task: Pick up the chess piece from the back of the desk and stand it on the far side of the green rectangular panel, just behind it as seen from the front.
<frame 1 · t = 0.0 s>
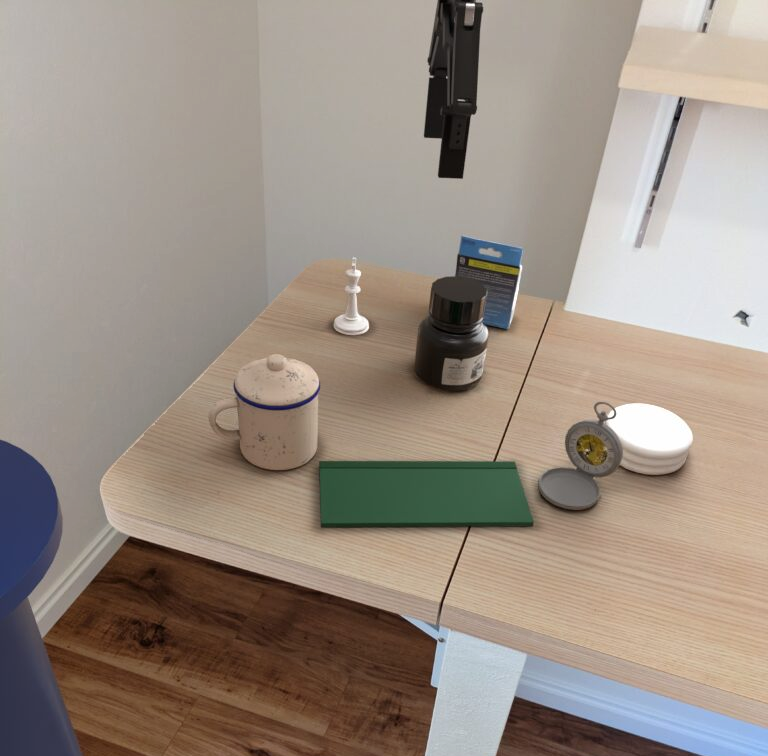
hand: (442, 156, 93), 25 cm above the table, tool pointing down, fingers open, 13 cm apart
pocket watch: (574, 490, 88), on the table
teacup with lid: (266, 451, 90), on the table
ink bottle: (447, 375, 104), on the table
green rectangular panel: (422, 495, 85), on the table
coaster: (641, 451, 94), on the table
chess piece: (351, 327, 111), on the table
label tape box: (480, 320, 116), on the table
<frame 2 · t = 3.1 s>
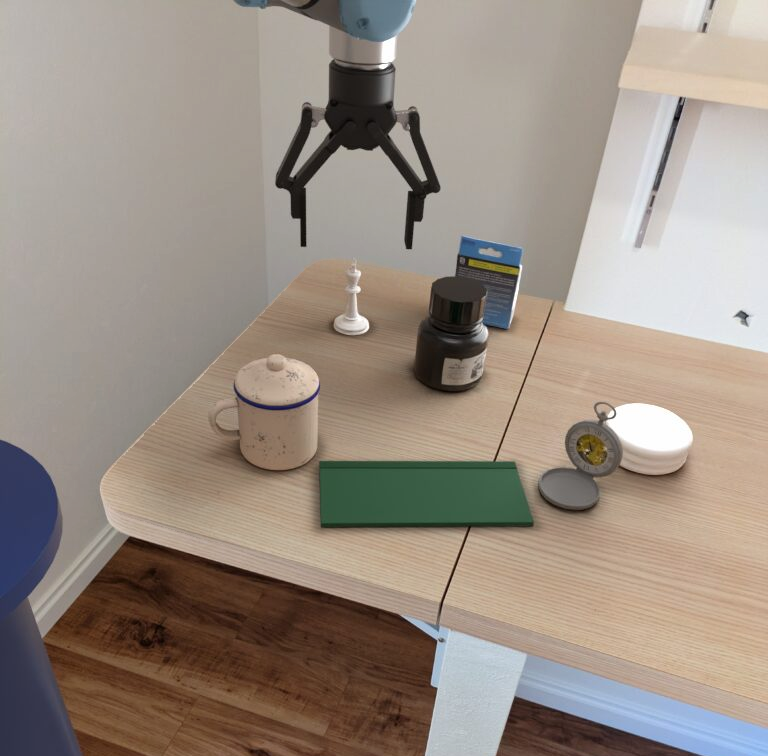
hand: (356, 244, 104), 12 cm above the table, tool pointing down, fingers open, 13 cm apart
nothing on the table moved.
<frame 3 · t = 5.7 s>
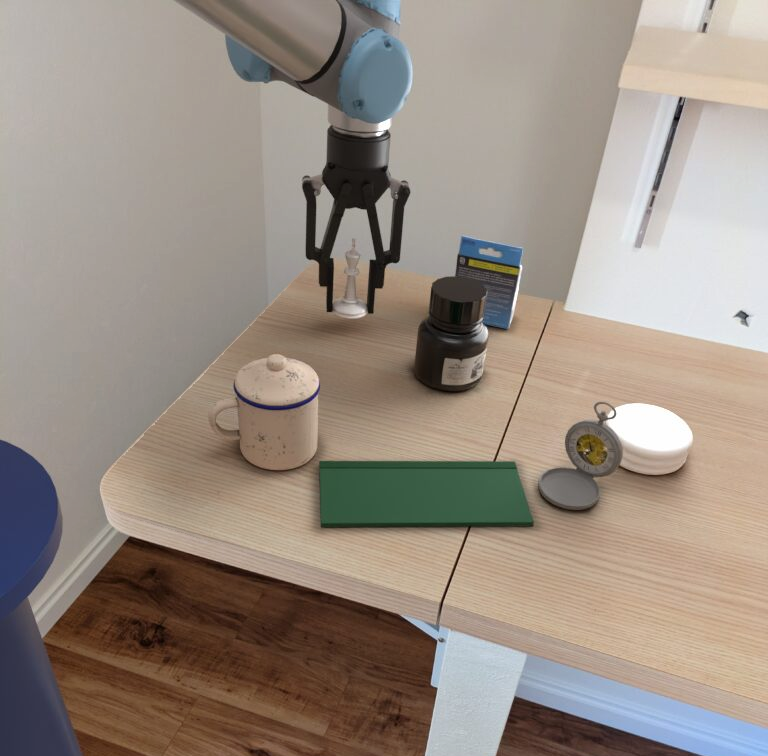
hand: (349, 308, 109), 3 cm above the table, tool pointing down, fingers closed on chess piece, 5 cm apart
chess piece: (349, 311, 109), point 2 cm above the table, touching gripper
everything else where it was.
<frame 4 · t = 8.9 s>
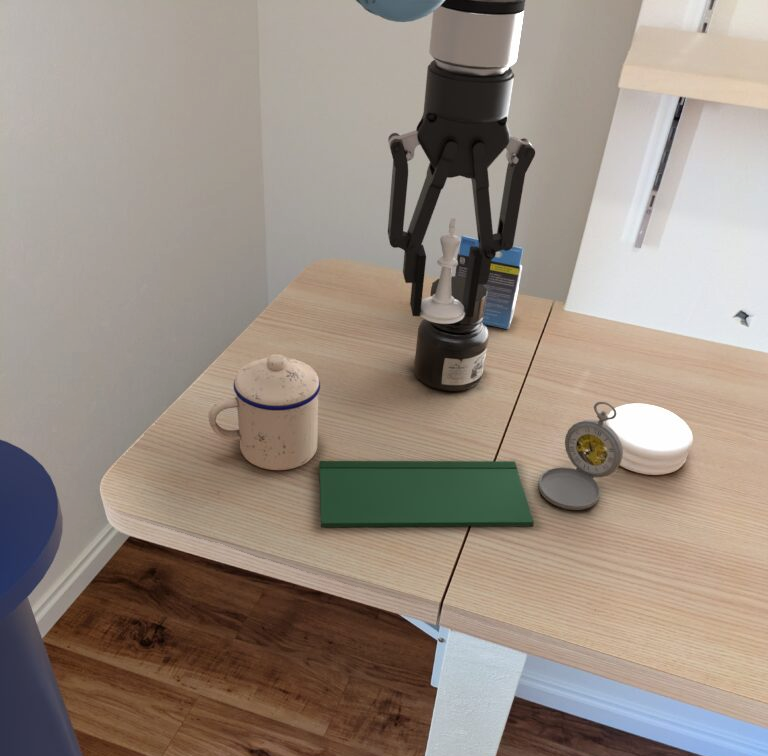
hand: (441, 310, 84), 16 cm above the table, tool pointing down, fingers closed on chess piece, 5 cm apart
chess piece: (440, 314, 84), point 15 cm above the table, touching gripper
everything else where it was.
when the fingers open (0 cm above the table, at t = 12.4 s): chess piece stays where it is, on the table.
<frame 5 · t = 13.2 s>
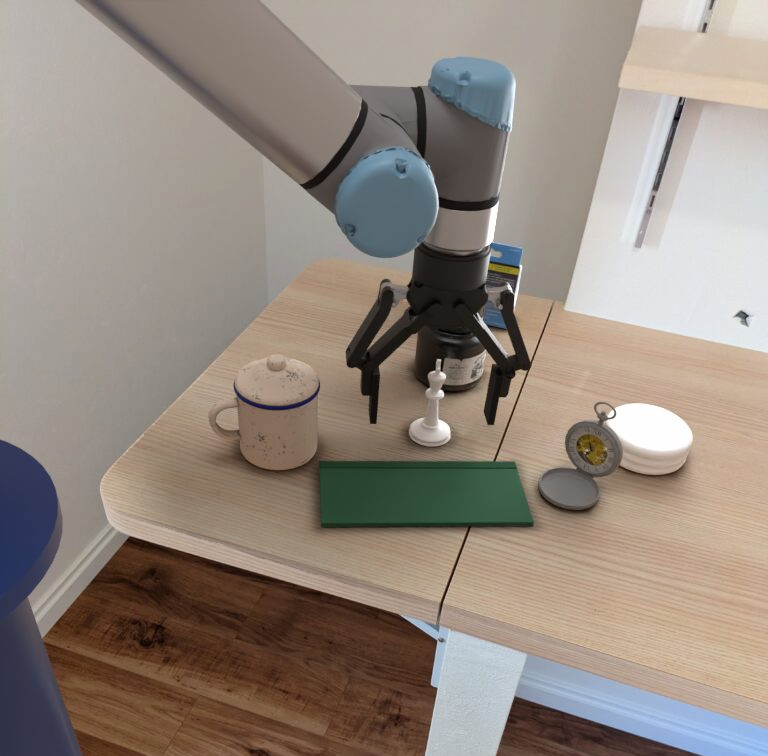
hand: (430, 418, 92), 2 cm above the table, tool pointing down, fingers open, 13 cm apart
chess piece: (429, 435, 94), on the table
everything else where it was.
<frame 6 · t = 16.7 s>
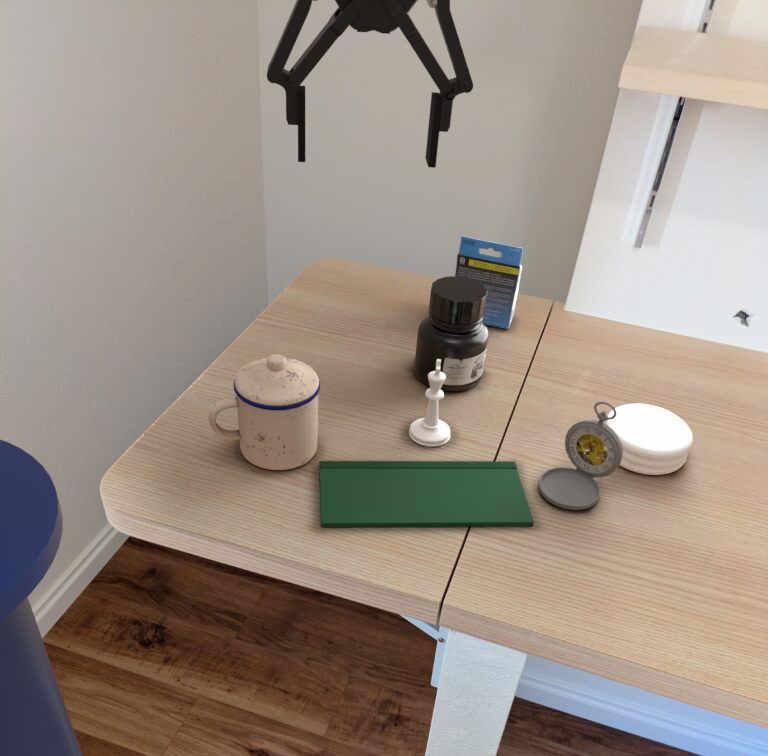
hand: (366, 160, 84), 27 cm above the table, tool pointing down, fingers open, 13 cm apart
nothing on the table moved.
at the end: chess piece inside the target area on the table beside the green rectangular panel (2.2 cm from its centre), on the table; chess piece tilted 0°; the gripper is holding nothing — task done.
